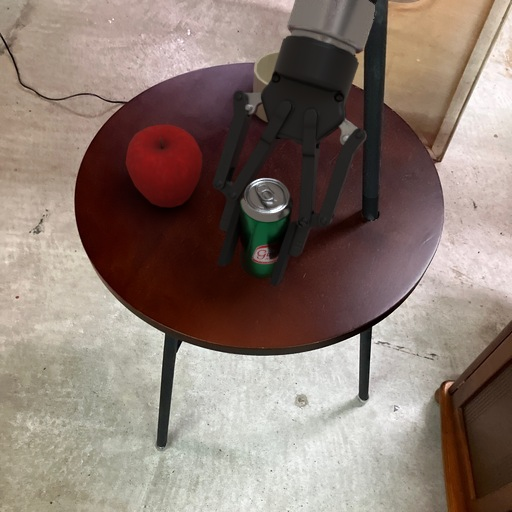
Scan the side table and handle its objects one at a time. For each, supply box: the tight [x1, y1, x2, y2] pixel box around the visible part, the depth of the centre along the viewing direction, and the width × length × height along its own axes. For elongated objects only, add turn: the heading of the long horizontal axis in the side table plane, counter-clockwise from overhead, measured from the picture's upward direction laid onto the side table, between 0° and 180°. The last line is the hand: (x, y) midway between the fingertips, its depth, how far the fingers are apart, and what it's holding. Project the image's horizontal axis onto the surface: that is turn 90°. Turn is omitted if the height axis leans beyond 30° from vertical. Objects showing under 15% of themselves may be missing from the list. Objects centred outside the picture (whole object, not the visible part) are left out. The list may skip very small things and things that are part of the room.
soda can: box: [239, 177, 294, 280], centre depth 57 cm, size 5×5×12 cm
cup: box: [252, 50, 280, 123], centre depth 83 cm, size 8×8×7 cm
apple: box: [125, 124, 203, 208], centre depth 71 cm, size 10×10×11 cm
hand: (249, 272), depth 57 cm, fingers closed on soda can, 5 cm apart
